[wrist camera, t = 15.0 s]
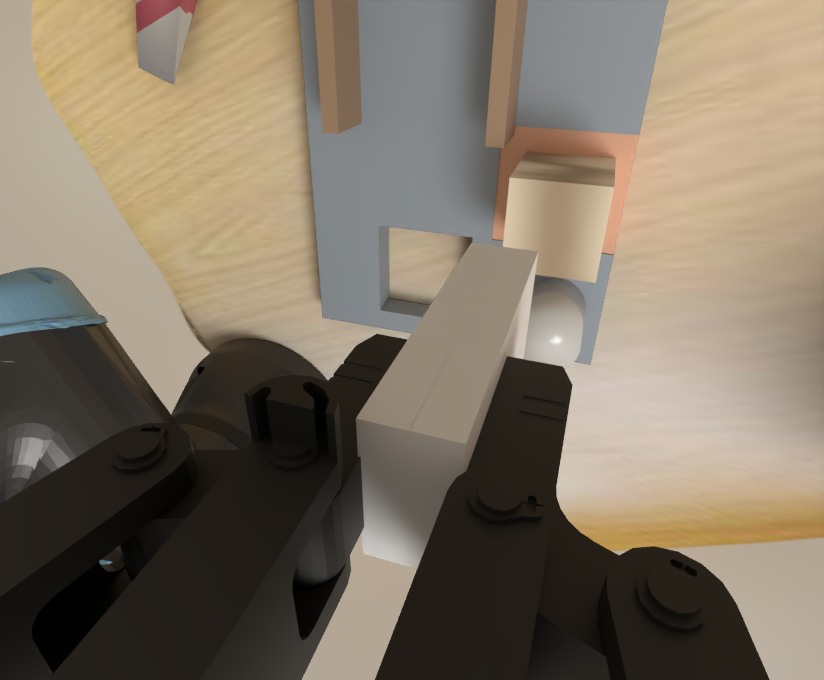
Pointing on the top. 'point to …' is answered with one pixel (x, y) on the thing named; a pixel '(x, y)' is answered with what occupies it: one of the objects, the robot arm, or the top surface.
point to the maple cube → (560, 212)
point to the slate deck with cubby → (459, 125)
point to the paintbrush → (162, 35)
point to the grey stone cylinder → (555, 322)
